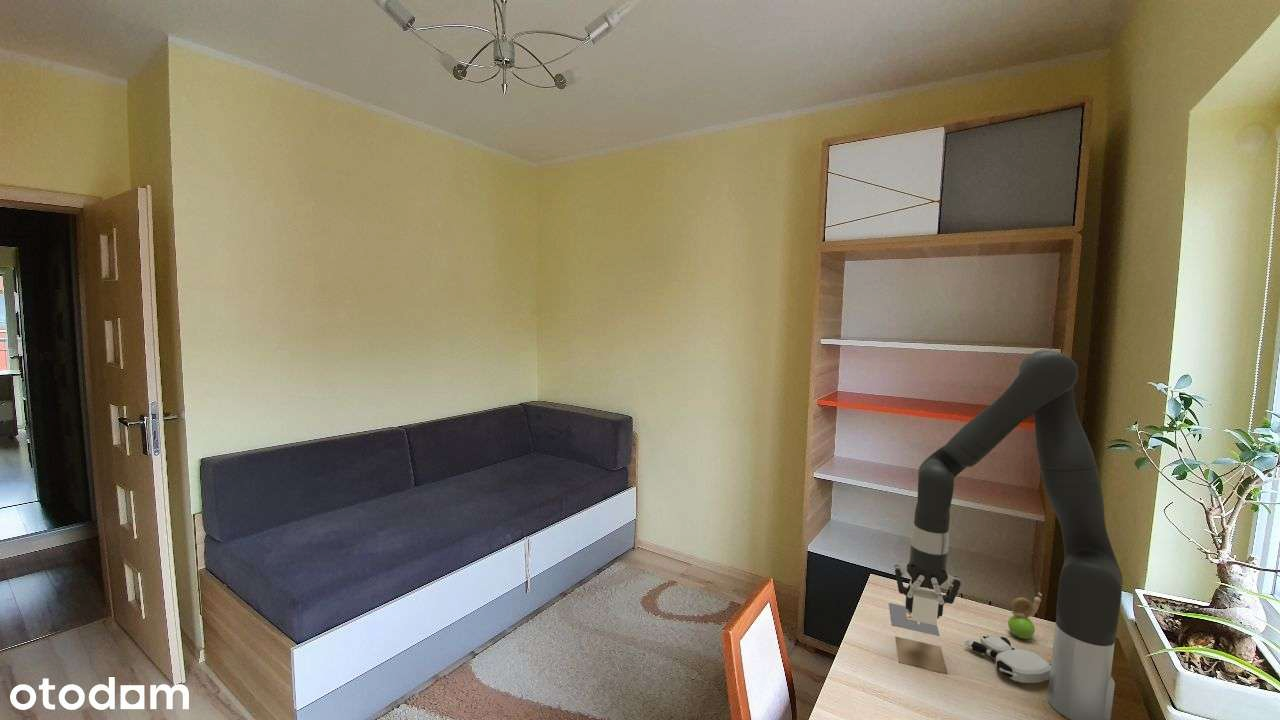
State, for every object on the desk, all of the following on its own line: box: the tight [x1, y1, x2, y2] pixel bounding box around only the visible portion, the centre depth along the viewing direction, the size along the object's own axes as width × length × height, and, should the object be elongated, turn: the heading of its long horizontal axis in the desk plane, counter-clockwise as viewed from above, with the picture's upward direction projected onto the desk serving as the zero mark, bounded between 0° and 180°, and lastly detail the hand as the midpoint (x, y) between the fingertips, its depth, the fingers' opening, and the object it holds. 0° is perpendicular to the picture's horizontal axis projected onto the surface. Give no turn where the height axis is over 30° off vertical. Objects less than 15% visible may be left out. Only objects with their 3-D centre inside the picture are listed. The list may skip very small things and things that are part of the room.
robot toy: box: [964, 635, 1051, 684], centre depth 120 cm, size 12×4×15 cm
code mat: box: [888, 602, 941, 637], centre depth 138 cm, size 11×11×1 cm
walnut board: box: [894, 635, 949, 676], centre depth 124 cm, size 10×10×1 cm
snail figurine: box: [1007, 592, 1043, 640], centre depth 131 cm, size 5×6×12 cm
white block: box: [911, 587, 939, 626], centre depth 123 cm, size 5×5×6 cm
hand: (923, 613), depth 123 cm, fingers closed on white block, 5 cm apart
